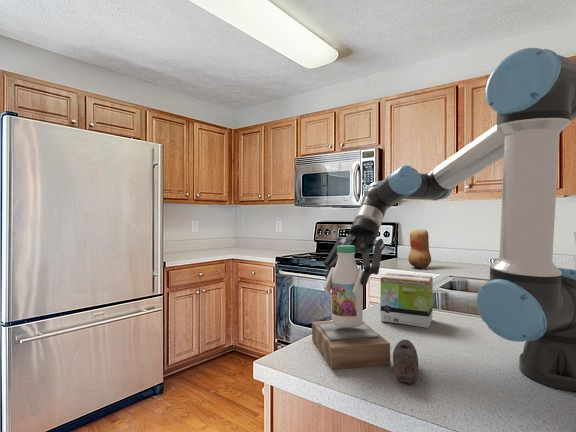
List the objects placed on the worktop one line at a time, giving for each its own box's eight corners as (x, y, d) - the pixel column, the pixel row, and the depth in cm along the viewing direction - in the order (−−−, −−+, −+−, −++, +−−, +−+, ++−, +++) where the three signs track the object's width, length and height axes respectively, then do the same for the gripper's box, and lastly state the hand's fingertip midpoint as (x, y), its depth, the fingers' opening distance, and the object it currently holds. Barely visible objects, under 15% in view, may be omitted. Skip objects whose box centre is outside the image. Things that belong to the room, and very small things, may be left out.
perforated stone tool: (395, 358, 87) (394, 330, 87) (418, 361, 85) (417, 332, 85) (391, 387, 73) (390, 352, 73) (418, 391, 71) (418, 355, 71)
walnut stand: (390, 364, 83) (390, 341, 83) (331, 369, 81) (331, 345, 81) (359, 336, 103) (359, 317, 103) (312, 339, 101) (311, 320, 101)
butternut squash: (404, 268, 228) (403, 229, 228) (415, 266, 237) (415, 228, 237) (424, 271, 217) (424, 229, 217) (435, 268, 226) (435, 228, 226)
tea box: (380, 322, 116) (379, 276, 116) (386, 314, 125) (386, 272, 125) (429, 328, 109) (429, 280, 109) (433, 320, 118) (432, 275, 118)
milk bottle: (344, 317, 98) (342, 243, 97) (368, 323, 92) (367, 245, 92) (326, 323, 92) (324, 245, 92) (350, 330, 87) (349, 247, 87)
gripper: (405, 234, 98) (384, 306, 85) (339, 233, 110) (311, 296, 97) (398, 215, 94) (374, 288, 81) (330, 216, 106) (300, 279, 93)
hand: (340, 292), depth 89 cm, fingers closed on milk bottle, 7 cm apart
